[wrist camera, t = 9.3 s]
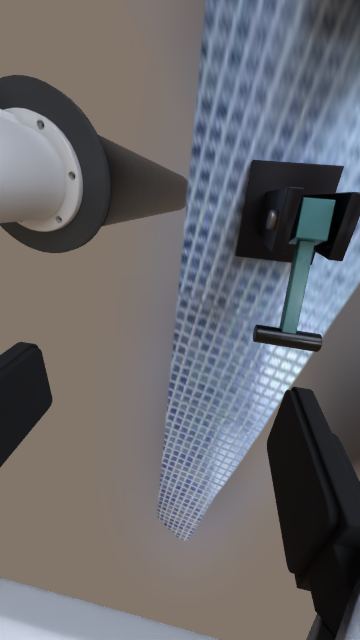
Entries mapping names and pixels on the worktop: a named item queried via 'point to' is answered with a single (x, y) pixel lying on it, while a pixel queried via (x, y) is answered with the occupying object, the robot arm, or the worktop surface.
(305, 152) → the worktop surface
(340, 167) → the bracket
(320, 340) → the lever
